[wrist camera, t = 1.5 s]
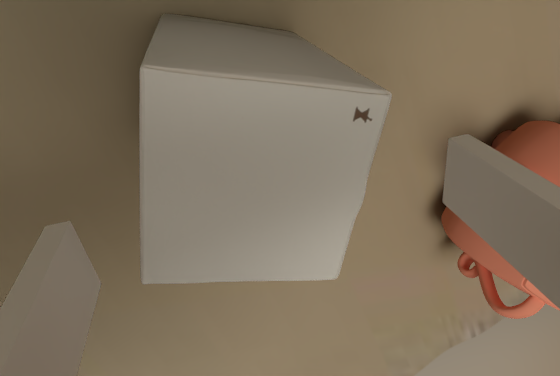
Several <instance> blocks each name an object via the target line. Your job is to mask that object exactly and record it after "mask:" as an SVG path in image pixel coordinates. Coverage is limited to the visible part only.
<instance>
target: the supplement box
mask: <svg viewBox="0 0 560 376" xmlns="http://www.w3.org/2000/svg"><path fill="white" fill-rule="evenodd" d="M391 98H392V94H391V93H390V92H389V91H387V90H386V89H384V88H382V87H381V86H379V85H377V84H376V83H374V82H372V81H371V80H369V79H367V78H366V77H364V76H362V75H361V74H359V73H358V72H356V71H354V70H353V69H351V68H350V67H348V66H346V65H345V64H343V63H342V62H340V61H338V60H337V59H335V58H333V57H332V56H330V55H329V54H327V53H326V52H324V51H322V50H321V49H319V48H318V47H316V46H314V45H313V44H311V43H309V42H308V41H306V40H305V39H303V38H301V37H300V36H298V35H297V34H295V33H293V32H289V31H284V30H277V29H270V28H264V27H257V26H250V25H244V24H237V23H231V22H224V21H218V20H211V19H205V18H199V17H191V16H184V15H176V14H162V15H161V17H160V20H159V22H158V25H157V27H156V30H155V32H154V35H153V37H152V39H151V42H150V44H149V46H148V49H147V51H146V54H145V56H144V59H143V61H142V64H141V66H140V102H139V190H140V272H141V282H142V284H182V283H206V282H237V281H306V280H331V279H336V278H337V277H338V276H339V273H340V269H341V266H342V262H343V259H344V256H345V252H346V249H347V246H348V242H349V239H350V235H351V232H352V229H353V225H354V222H355V218H356V216H357V214H358V212H359V210H360V208H361V205H362V202H363V199H364V196H365V191H366V184H367V179H368V175H369V172H370V168H371V165H372V161H373V158H374V155H375V151H376V148H377V145H378V142H379V138H380V135H381V132H382V129H383V126H384V122H385V119H386V115H387V112H388V109H389V105H390V101H391Z"/></svg>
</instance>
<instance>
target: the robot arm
mask: <svg viewBox="0 0 560 376" xmlns="http://www.w3.org/2000/svg"><path fill="white" fill-rule="evenodd" d="M442 202H443V203H444V204H445V205H446V206H447V207H448V208H449V209H450V210H451V211H452V212H454V213H455V214H456V215H457V216H458V217H459V218H460V219H461V220H462V221H463V222H465V223H466V224H467V225H468V226H469V227H470V228H471V229H472V230H473V231H474V232H476V233H477V234H478V235H479V236H480V237H481V238H482V239H483V240H484V241H485V242H487V243H488V244H489V245H490V246H491V247H492V248H493V249H494V250H495V251H496V252H498V253H499V254H500V255H501V256H502V257H503V258H504V259H505V260H506V261H507V262H509V263H510V264H511V265H512V266H513V267H514V268H515V269H516V270H517V271H518V272H520V273H521V274H522V275H523V276H524V277H525V278H526V279H527V280H528V281H529V282H530V283H532V284H533V285H534V286H535V287H536V288H537V289H538V290H539V291H540V292H541V293H543V294H544V295H545V296H546V297H547V298H548V299H549V300H550V301H551V302H552V303H554V304H555V305H556V306H557V307H558V308H559V309H560V187H558V186H557V185H555V184H553V183H552V182H550V181H548V180H546V179H545V178H543V177H541V176H540V175H538V174H536V173H535V172H533V171H531V170H529V169H528V168H526V167H524V166H523V165H521V164H519V163H517V162H516V161H514V160H512V159H511V158H509V157H507V156H505V155H504V154H502V153H500V152H499V151H497V150H495V149H493V148H492V147H490V146H488V145H487V144H485V143H483V142H481V141H480V140H478V139H476V138H475V137H473V136H471V135H470V134H465V135H460V136H456V137H451V138H449V140H448V150H447V160H446V170H445V180H444V190H443V200H442ZM100 287H101V281H100V279H99V277H98V275H97V273H96V271H95V269H94V267H93V265H92V263H91V261H90V259H89V257H88V255H87V253H86V251H85V249H84V247H83V245H82V243H81V241H80V239H79V237H78V235H77V233H76V231H75V229H74V227H73V225H72V223H71V221H66V222H61V223H57V224H52V225H48V226H45V227H44V229H43V231H42V233H41V235H40V237H39V238H38V240H37V242H36V244H35V246H34V248H33V249H32V251H31V253H30V255H29V257H28V259H27V260H26V262H25V264H24V266H23V268H22V270H21V271H20V273H19V275H18V277H17V279H16V281H15V283H14V284H13V286H12V288H11V290H10V292H9V294H8V295H7V297H6V299H5V301H4V303H3V305H2V306H1V308H0V376H77V373H78V369H79V366H80V362H81V358H82V354H83V351H84V347H85V343H86V339H87V336H88V332H89V328H90V324H91V321H92V317H93V313H94V309H95V306H96V302H97V298H98V294H99V291H100Z"/></svg>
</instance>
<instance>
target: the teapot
mask: <svg viewBox="0 0 560 376" xmlns="http://www.w3.org/2000/svg"><path fill="white" fill-rule="evenodd" d="M491 147H492V148H493V149H495V150H497V151H499V152H500V153H502V154H504V155H505V156H507V157H509V158H511V159H512V160H514V161H516V162H517V163H519V164H521V165H523V166H524V167H526V168H528V169H529V170H531V171H533V172H535V173H536V174H538V175H540V176H541V177H543V178H545V179H546V180H548V181H550V182H552V183H553V184H555V185H557V186H558V187H560V124H558V123H556V122H552V121H529V122H526V123H524V124H523V125H521V126H520V127H518V128H517V129H516V130H515V131H511V130H506V131H503V132H502V133H500V134H499V135H498V136H497V137H496V138H495V139H494V141H493V143H492V146H491ZM441 220H442V224H443V227H444V230H445V232H446V234H447V235H448V237H449V238H450V239H451V241H453V242H454V243H455V244H456V245H457V246H458V247H459V248H460V249H461V250H463V251H464V253H463V254H462V255H461V256H460V257H459V259H458V268H459V270H460V272H461V273H462V274H463V275H464V276H466V277H469V278H475V277H477V276H479V280H480V283H481V287H482V290H483V293H484V296H485V298H486V300H487V302H488V304H489V305H490V306H491V308H492V309H493V310H494V311H496V312H497V313H498V314H500V315H502V316H505V317H508V318H514V319H519V318H526V317H529V316H532V315H534V314H535V313H537V312H538V311H539V310H540V309H541V308H542V307H543V306H544V305H545V303H546V304H548V305H550V306H552V307H554V308H556V309H558V310H560V309H559V308H558V307H557V306H556V305H555V304H554V303H552V302H551V301H550V300H549V299H548V298H547V297H546V296H545V295H544V294H543V293H541V292H540V291H539V290H538V289H537V288H536V287H535V286H534V285H533V284H532V283H530V282H529V281H528V280H527V279H526V278H525V277H524V276H523V275H522V274H521V273H520V272H518V271H517V270H516V269H515V268H514V267H513V266H512V265H511V264H510V263H509V262H507V261H506V260H505V259H504V258H503V257H502V256H501V255H500V254H499V253H498V252H496V251H495V250H494V249H493V248H492V247H491V246H490V245H489V244H488V243H487V242H485V241H484V240H483V239H482V238H481V237H480V236H479V235H478V234H477V233H476V232H474V231H473V230H472V229H471V228H470V227H469V226H468V225H467V224H466V223H465V222H463V221H462V220H461V219H460V218H459V217H458V216H457V215H456V214H455V213H454V212H452V211H451V210H450V209H449V208H448V207H447V206H446V208H445V210H444V212H443V214H442V217H441ZM473 262H475V265H476V266H474V267H473V268H472V269H470V270H469V267H470V265H471V264H472V263H473ZM491 272H492V273H494V274H495V275H497V276H498V277H500V278H501V279H503V280H504V281H506V282H508V283H509V284H511V285H513V286H515V287H516V288H518V289H520V290H522V291H524V292H525V293H527V294H529V295H530V296H529V297H528V298H527V299H526V300H525V301H524V302H522V303H521V304H519V305H516V306H512V307H507V306H505V305H504V304H503V303H502V301H501V299H500V298H499V295H498V293H497V290H496V287H495V284H494V281H493V277H492V273H491Z"/></svg>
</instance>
